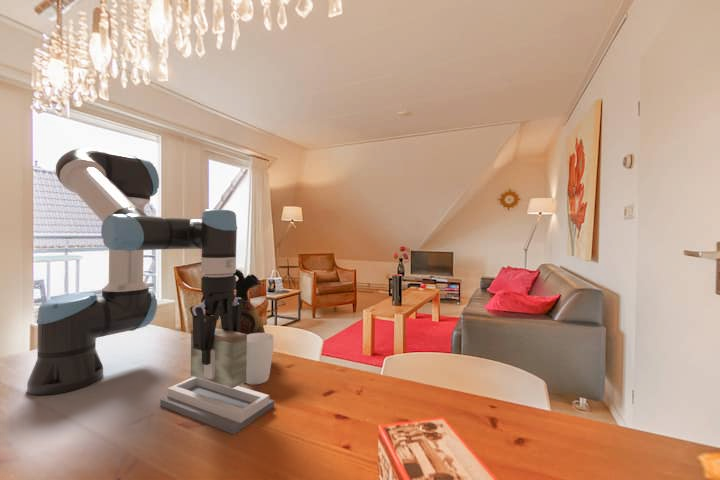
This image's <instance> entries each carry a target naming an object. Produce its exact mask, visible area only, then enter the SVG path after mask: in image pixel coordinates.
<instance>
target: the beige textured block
mask: <svg viewBox="0 0 720 480" xmlns="http://www.w3.org/2000/svg"><path fill="white" fill-rule="evenodd" d="M212 349H215V378H213V379H210V378H207V377H204V364H202V351H201V350H197V349H194V348H193V329H191V330H190V376H191V377H197V378H200V379H204V380H207V381H210V382H214V383H217V384H220V385H224V386H227V387H230V388H234V387H236V386H241V384H244V383H245V381H246V366H247V334H244V333H239V332H233V331H228V330H223V329H218V328H217V327H216V329H215V334H214V340H213V346H212Z"/></svg>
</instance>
